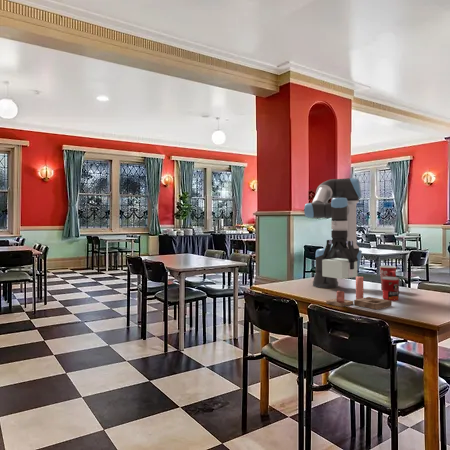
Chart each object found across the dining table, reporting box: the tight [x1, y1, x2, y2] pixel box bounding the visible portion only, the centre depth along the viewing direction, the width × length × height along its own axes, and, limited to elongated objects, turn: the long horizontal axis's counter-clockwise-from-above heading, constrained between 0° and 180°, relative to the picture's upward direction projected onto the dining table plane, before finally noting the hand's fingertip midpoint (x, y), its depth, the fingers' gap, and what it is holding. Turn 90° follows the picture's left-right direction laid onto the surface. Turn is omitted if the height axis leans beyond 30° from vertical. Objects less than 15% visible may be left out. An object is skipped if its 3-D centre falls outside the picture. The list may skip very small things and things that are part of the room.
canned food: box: [382, 276, 400, 302], centre depth 202 cm, size 8×8×11 cm
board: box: [325, 290, 354, 308], centre depth 192 cm, size 9×9×6 cm
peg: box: [355, 276, 364, 300], centre depth 198 cm, size 4×4×12 cm
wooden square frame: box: [353, 296, 393, 311], centre depth 188 cm, size 12×12×2 cm
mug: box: [379, 265, 397, 291], centre depth 224 cm, size 13×9×14 cm
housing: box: [322, 258, 358, 280], centre depth 192 cm, size 12×12×8 cm
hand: (339, 274), depth 192 cm, fingers closed on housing, 12 cm apart
